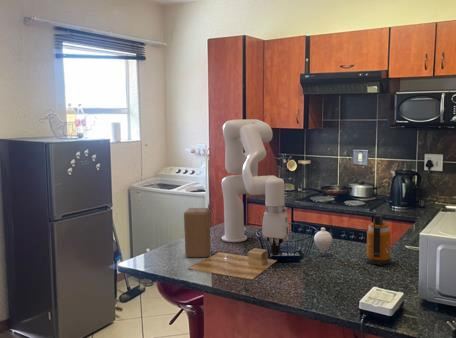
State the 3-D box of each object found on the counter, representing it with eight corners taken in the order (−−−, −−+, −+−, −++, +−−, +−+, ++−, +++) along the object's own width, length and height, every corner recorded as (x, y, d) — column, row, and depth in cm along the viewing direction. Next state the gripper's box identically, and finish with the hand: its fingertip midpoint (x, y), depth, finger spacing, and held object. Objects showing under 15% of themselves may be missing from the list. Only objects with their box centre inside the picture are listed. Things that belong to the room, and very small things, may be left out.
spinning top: (312, 257, 190) (312, 229, 189) (316, 251, 197) (316, 225, 196) (330, 258, 188) (330, 230, 186) (333, 253, 195) (333, 226, 193)
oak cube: (254, 259, 188) (254, 248, 187) (267, 261, 185) (267, 249, 185) (248, 263, 183) (248, 252, 182) (261, 265, 180) (261, 253, 179)
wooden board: (219, 252, 200) (219, 252, 200) (277, 260, 186) (277, 260, 186) (188, 269, 179) (188, 268, 178) (251, 279, 165) (251, 279, 165)
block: (211, 251, 202) (210, 207, 200) (207, 258, 192) (206, 212, 190) (189, 250, 203) (188, 207, 201) (184, 257, 193) (183, 212, 191)
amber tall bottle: (390, 260, 184) (391, 212, 182) (387, 268, 174) (388, 218, 172) (368, 257, 188) (369, 210, 185) (364, 266, 178) (364, 216, 175)
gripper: (296, 208, 177) (296, 254, 179) (261, 206, 184) (262, 249, 186) (289, 212, 171) (289, 259, 173) (253, 209, 178) (254, 254, 180)
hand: (275, 254), depth 180 cm, fingers closed
